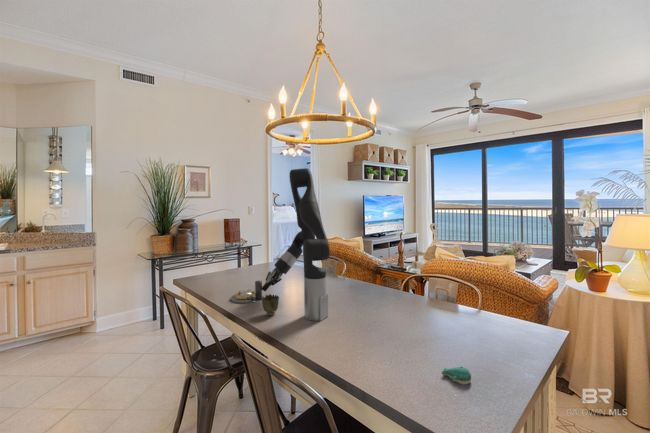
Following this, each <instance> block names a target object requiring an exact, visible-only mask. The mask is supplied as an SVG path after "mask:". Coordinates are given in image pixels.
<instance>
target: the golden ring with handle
mask: <svg viewBox="0 0 650 433" xmlns="http://www.w3.org/2000/svg"><path fill="white" fill-rule="evenodd" d="M262 282H263V281H262V280H256V281H254V290H252V289H245V290H238V292H237V291H236V292H235V293H234V295H235V299H254V300H256V302H260V301H262V297H263V290H262V287H263V285H262V284H263V283H262ZM244 291H250V292H252V294H249V295H248V296H245V295H240V293H241V292H244ZM239 295H240V296H239Z"/></svg>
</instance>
